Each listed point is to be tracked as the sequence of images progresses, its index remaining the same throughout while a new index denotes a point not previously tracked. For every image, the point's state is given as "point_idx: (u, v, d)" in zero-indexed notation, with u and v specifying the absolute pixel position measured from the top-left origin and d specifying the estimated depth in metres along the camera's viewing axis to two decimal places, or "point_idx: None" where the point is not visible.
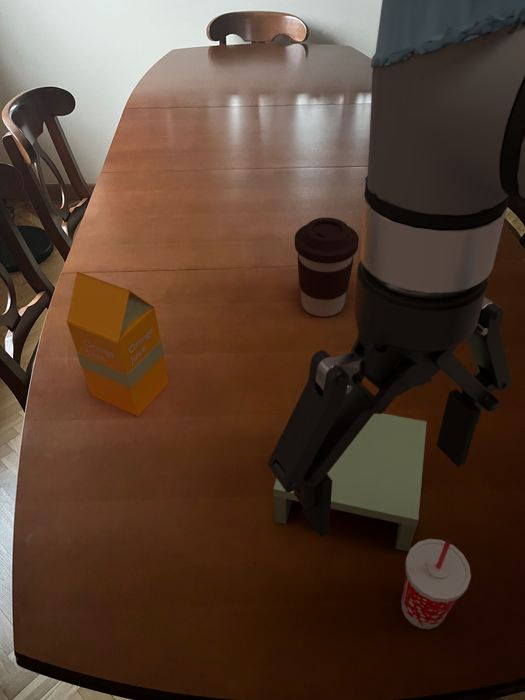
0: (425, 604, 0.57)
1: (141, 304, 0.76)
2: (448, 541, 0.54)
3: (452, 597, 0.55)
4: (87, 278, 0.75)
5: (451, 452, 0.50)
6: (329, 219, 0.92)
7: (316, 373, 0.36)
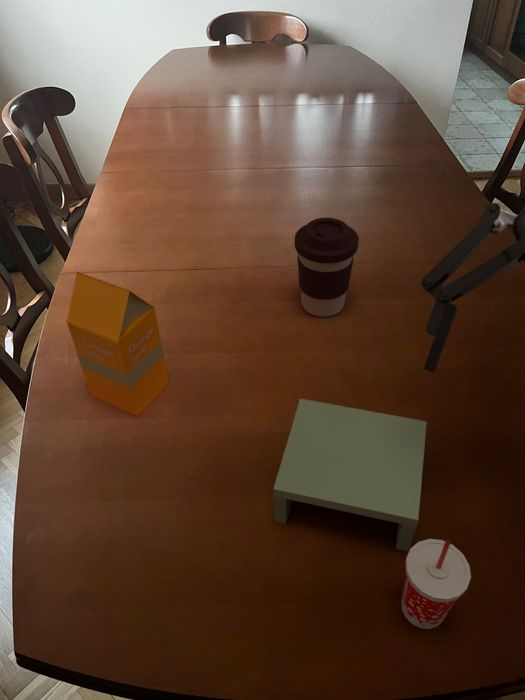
0: (425, 604, 0.57)
1: (141, 304, 0.76)
2: (448, 541, 0.54)
3: (452, 597, 0.55)
4: (87, 278, 0.75)
5: None
6: (329, 219, 0.92)
7: None
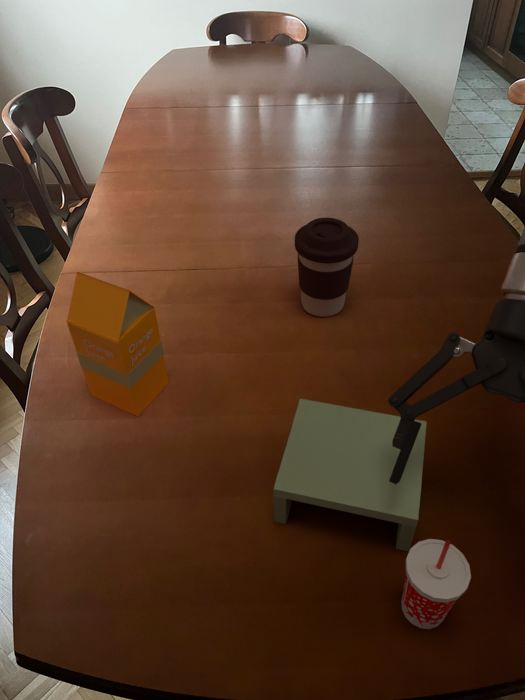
0: (425, 604, 0.57)
1: (141, 304, 0.76)
2: (448, 541, 0.54)
3: (452, 597, 0.55)
4: (87, 278, 0.75)
5: None
6: (329, 219, 0.92)
7: None
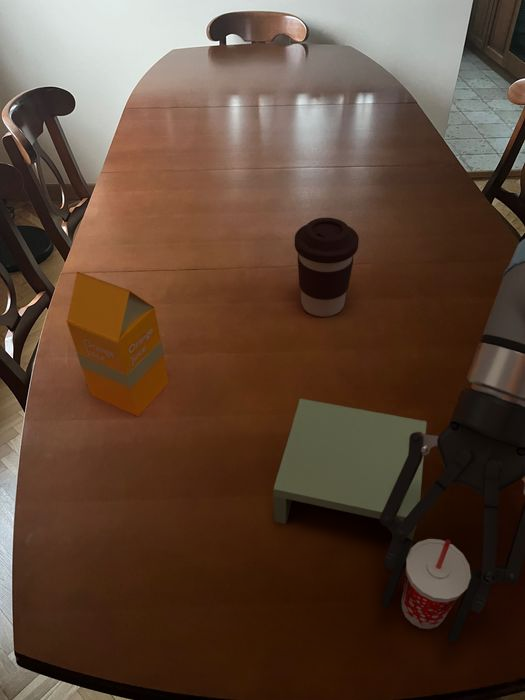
0: (425, 604, 0.57)
1: (141, 304, 0.77)
2: (448, 541, 0.54)
3: (452, 597, 0.55)
4: (87, 278, 0.75)
5: (451, 627, 0.56)
6: (329, 219, 0.92)
7: None
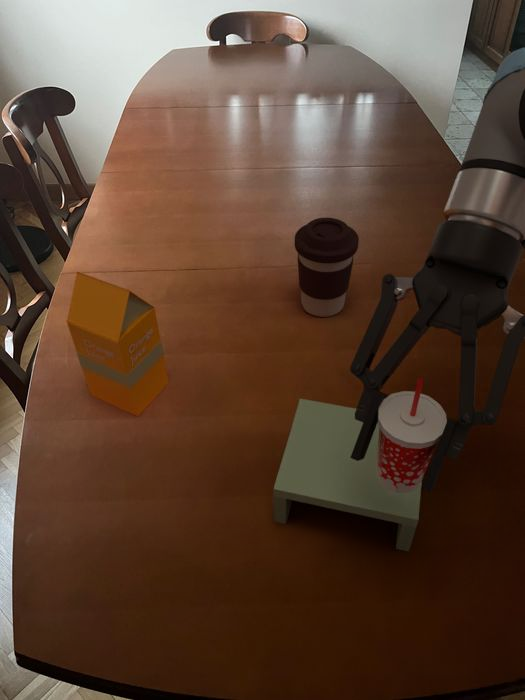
0: (398, 456, 0.53)
1: (141, 304, 0.76)
2: (421, 377, 0.50)
3: (426, 442, 0.51)
4: (87, 278, 0.75)
5: None
6: (329, 219, 0.92)
7: None
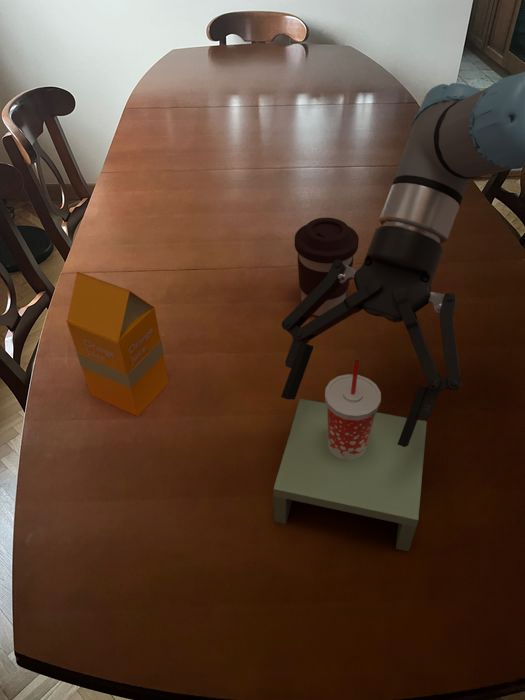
0: (341, 428, 0.65)
1: (141, 304, 0.76)
2: (357, 361, 0.61)
3: (362, 414, 0.62)
4: (87, 278, 0.75)
5: None
6: (329, 219, 0.92)
7: None
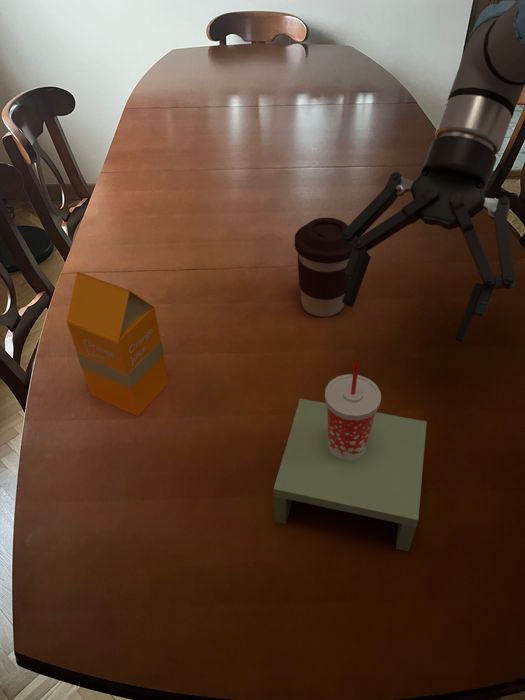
0: (341, 428, 0.65)
1: (141, 304, 0.77)
2: (357, 361, 0.61)
3: (362, 414, 0.62)
4: (87, 278, 0.75)
5: None
6: (329, 219, 0.92)
7: None
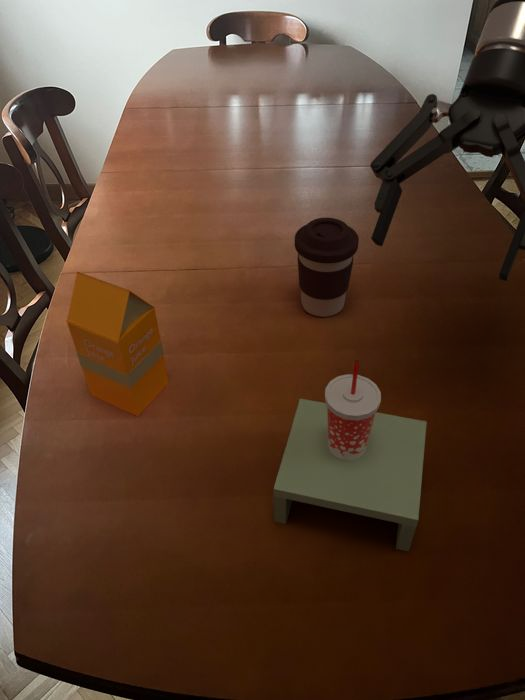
0: (341, 428, 0.65)
1: (141, 304, 0.77)
2: (357, 361, 0.61)
3: (362, 414, 0.62)
4: (87, 278, 0.75)
5: None
6: (329, 219, 0.92)
7: None
